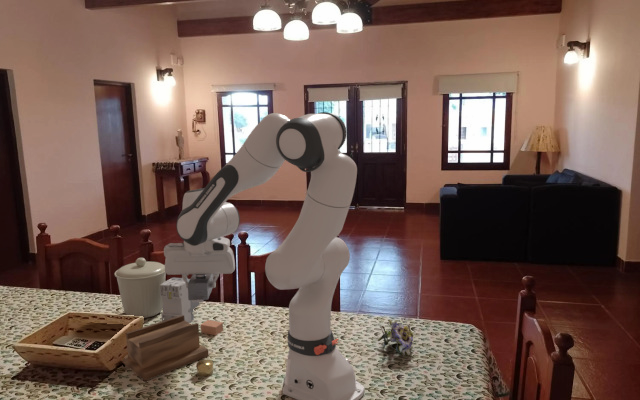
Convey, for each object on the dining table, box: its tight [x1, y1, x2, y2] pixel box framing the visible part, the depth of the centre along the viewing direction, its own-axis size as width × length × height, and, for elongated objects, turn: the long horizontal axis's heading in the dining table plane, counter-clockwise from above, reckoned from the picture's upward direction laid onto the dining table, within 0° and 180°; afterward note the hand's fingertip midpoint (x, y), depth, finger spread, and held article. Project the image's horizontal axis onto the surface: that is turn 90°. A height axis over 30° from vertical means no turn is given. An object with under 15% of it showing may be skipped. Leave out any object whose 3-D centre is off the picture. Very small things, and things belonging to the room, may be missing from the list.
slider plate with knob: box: [188, 274, 214, 303], centre depth 143 cm, size 16×6×6 cm, turn 4°
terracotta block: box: [200, 319, 224, 336], centre depth 161 cm, size 6×4×3 cm, turn 67°
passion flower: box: [377, 319, 414, 357], centre depth 146 cm, size 11×11×12 cm
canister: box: [114, 257, 167, 319], centre depth 175 cm, size 18×18×21 cm
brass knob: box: [196, 359, 214, 378], centre depth 134 cm, size 4×4×3 cm
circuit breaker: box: [160, 277, 201, 324], centre depth 170 cm, size 8×14×15 cm, turn 164°
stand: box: [122, 315, 209, 382], centre depth 142 cm, size 16×20×10 cm
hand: (201, 287), depth 143 cm, fingers closed on slider plate with knob, 5 cm apart
